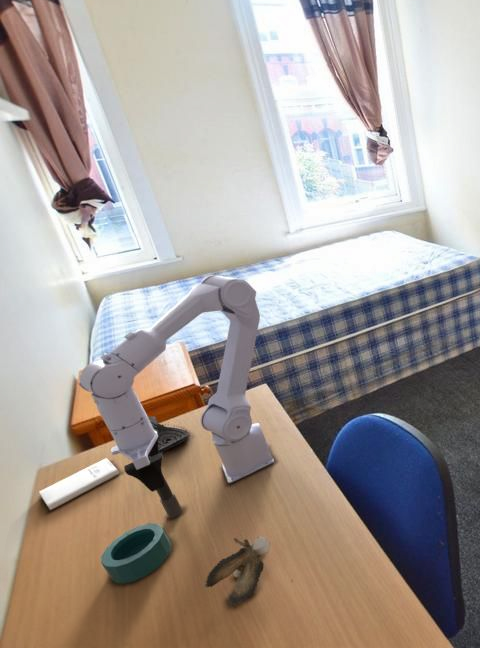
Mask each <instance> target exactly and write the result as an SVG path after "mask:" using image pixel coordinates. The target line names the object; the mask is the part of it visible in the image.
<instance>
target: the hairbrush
mask: <svg viewBox="0 0 480 648" xmlns="http://www.w3.org/2000/svg"><path fill="white" fill-rule="evenodd" d="M148 419H149V421H150V423H151V425H152V427H153V429H157V430H158V433H159V436H158V450H159V453H164V452H165V451H167V450H169V449H171V448H173V447H175V446H177V445H179V444H181V443H183V442H184V441H186V440H188V439H190V437H191V434H190V432H188V430H187V429H186V428H185V427H183V426H179V427H178V425H176V426H175V427H172V426H173V425H172V424H168V426H167V424H166V423H165V424H160V423H159V422H158V421H157V418H156V416H148ZM169 425H171V427H169Z"/></svg>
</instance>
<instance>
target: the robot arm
mask: <svg viewBox="0 0 480 648" xmlns="http://www.w3.org/2000/svg"><path fill="white" fill-rule="evenodd" d="M256 297H257V291H256V289H255V288H254V287H253V286H251V284H250V283H249V282H248V281H247V280H244V279H242V278H232V277H229V276H228V277H227V276H223V275H220V274H211V275H208V276H206V277H205V278H203V279H202V280H201V282H199V283H197V284H195V285H194V286H192V288H191V289H190V291H189V292H188V293H187V295H185V296H184V297H183V298H182V299H181V300H180V301H179V302H178V303H177V304H176V305H174V306H173V307H172V308H171V309H170V310H169V311H168V312H166V314H164V315H163V316H162V317H161V318H160V319H159V320H157V322H156V323H155V324H154V325H152V326H151V327H150V328H145V329H144V328H141V329H140V328H139V329H137V330H136V331H134V332H133V331H129V332H127V334H125V335H124V338H125V340H123V341H122V342H121V343H119V344H118V345H117V346H116V347H115V348H113V349H112V350H111V351H110V352H108V353H106V352H105V353H103V354H102V355H101V356H100V360H97V361H93V362H90V363H89V364H87V365H86V366H85V367H84V368H83V369H82V370H81V372H80V373H81V374H79V382H78V385H79V386H80V388H81V389H82V390H85V391H86V392H89V393H91V394H90V395H91V397H92V399H93V402H94V403H95V405H96V409H97V410H98V413H99V414H100V416H101V418H102V420H103V422H104V424H105V426H106V427H107V429H108V431H109V433H110V434H111V437H112V438H113V440H114V442H115V444H116V445H115V446H112V447H111V449H110V453H111V454H112V456H116V455H118V454H121V455H123V456H124V457H125V458H127V459H129V460H131V462H130V463H128V464H125V465H124V466H123V467H124V468H123V469H124V470H123V471H124V473H125V474H126V475H128V476H130V477H133V478H135V479H136V480H138V481H140V482H141V483H142V484H143V486H145V487H146V489H148V490H149V491H150V492H155V491H156V490H157V489H160V488H162V487H164V486H165V483H164V478H165V476H164V473H163V470H162V463H163V452H161V453H159V450H158V436H159V433H158V430H157V429H153V427H152V425H151V423H150V421H149V419H148V417H149V416H148V415H147V413H146V411H145V409H144V407H143V404H142V403H141V401H140V398H139V397H138V394H137V392H135V390H134V388H133V384H134V382H135V377H136V376H137V375H138V374H140V373H141V372H142V371H143V370H144V369H145V368H146V367H147V366H149V365H150V364H151V363H153V361H154V360H156V359H157V358H158V357H159V356H161V354H163V353H164V352H165V351H166V348H167V341H168V340H170V339H171V337H173V336H174V335H176V334H177V333H178V332H179V331H181V330H182V329H183V328H185V327H186V326H187V325H188V324H190V323H191V322H192V321H194V320H195V319H196V318H198V317H199V316H200V315H201V314H204V313H212V312H221V313H222V314H223V315H224V316H225V317H226V318H227V319H228V320H229V327H228V331H227V337H226V343H225V347H224V353H223V358H222V363H221V368H220V373H219V379H218V384H217V389H216V392H215V393H214V394H213V395H212V396H211V397H209V399H208V403H207V406H206V407H205V409H204V411H202V414H201V415H200V425H201V427H202V428H203V429H204V430H205V431H208V432H210V433H211V435H212V442H213V444H214V447H215V449H216V452H217V454H218V456H219V458H220V460H221V463H222V465H221V467H222V470H223V473H224V475H225V479H226V481H227V483H228V484H232V483H234V482H236V481H238V480H240V479H242V478H245V477H247V476H249V475H251V474H253V473H255V472H257V471H259V470H262V469H263V468H266V467H267V466H270V465H272V464H273V463H274V462H275V460H274V458H273V454H272V452H271V447H270V444H269V442H267V439H266V438H265V434H264V432H263V430H262V428H261V426H260V424H259V422H255V423H253V420H252V419H253V418H252V416H251V409H252V405H251V404H250V401H249V399H248V398H247V395H246V393H247V388H248V382H249V378H250V372H251V367H252V362H253V356H254V351H255V346H256V341H257V335H258V330H259V326H260V325H259V324H260V319H261V313H260V310H259V307H258V304H257V301H256ZM163 476H164V477H163Z"/></svg>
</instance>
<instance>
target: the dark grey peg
mask: <svg viewBox="0 0 480 648" xmlns="http://www.w3.org/2000/svg"><path fill="white" fill-rule="evenodd" d="M163 477H164V483H165V486H164V487H162V488H160V489H157V490H155V491H156V493H157V494H158V495H157V496H159V500H160V503H161V506H162V507H163V509H164V511H165V512H166V515H167V516H168V518H169V519H174V518H175V519H176V518H177V517H178V516H180V515H181V514H182V513H183V508H182V506H181V504H180V502H179V500H178V499H177V495H176V494H175V493H174V492H172V489H171V487H170V485H169V484H168V481H167V480H166V477H165V475H163Z"/></svg>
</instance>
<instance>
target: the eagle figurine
mask: <svg viewBox="0 0 480 648" xmlns="http://www.w3.org/2000/svg"><path fill="white" fill-rule="evenodd" d="M233 541H234V542H235V543H236V544H239V545H240V546H242V547H240V548H239V550H238V551H236V552H235V553H232V554H230V556H229V555H228V556H227V557H224V558H222V559H221V560H219V561H218V562H217V563H216V564H215V565H214V567H213V568H212V569H211V570H210V571H209V573H208V575H207V577H206V580H205V584H204V587H205V588H212V587H214V586H216V585H217V584H218V583H220V582H221V581H224V580H225V579H227V578H229V577H230V576H231V575H232V574H233V576H234V579H235V578H237V580H236V583H235V585H234V587H233V588H232V590H231V592H230V593H229V594H228V596H227V600H228V603H229V604H230V605H231V606H236V605H238V604H241V603H242V602H244V600H248V598H249V597H251V596H252V594H254V592H255V591H256V588H257V587H258V583H259V582H260V579H259V578H261V575H262V573H263V571H264V565H265V564H264V562H263V561H262V559H261V557H262V556H263V555H266V554H268V553H269V551H270V545H271V542H270V541H269V538H267V537H264V536H261V537H260V536H258V537H256V538H254V541H253V543H252V545H251V544H250V542H249V540H248V539H247V538H244V539H243V541H242V540H240V539H238V538H237V537H233Z"/></svg>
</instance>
